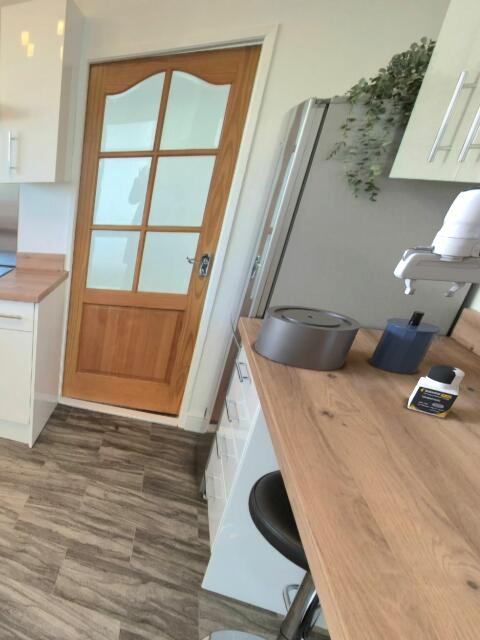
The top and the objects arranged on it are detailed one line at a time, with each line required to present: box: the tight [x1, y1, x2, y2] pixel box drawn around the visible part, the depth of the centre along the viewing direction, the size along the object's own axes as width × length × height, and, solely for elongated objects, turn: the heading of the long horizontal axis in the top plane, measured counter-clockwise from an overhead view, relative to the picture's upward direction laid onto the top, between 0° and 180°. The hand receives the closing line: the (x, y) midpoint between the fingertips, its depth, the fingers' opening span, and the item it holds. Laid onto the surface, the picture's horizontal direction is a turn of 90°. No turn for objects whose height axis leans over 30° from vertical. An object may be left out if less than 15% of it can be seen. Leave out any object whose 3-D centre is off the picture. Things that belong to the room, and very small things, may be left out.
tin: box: [369, 323, 438, 375], centre depth 135 cm, size 11×11×14 cm
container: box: [254, 305, 361, 371], centre depth 143 cm, size 25×25×13 cm
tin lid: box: [386, 310, 442, 334], centre depth 131 cm, size 12×12×5 cm
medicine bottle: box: [407, 364, 465, 419], centre depth 111 cm, size 7×7×12 cm
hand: (427, 295), depth 127 cm, fingers open, 8 cm apart
